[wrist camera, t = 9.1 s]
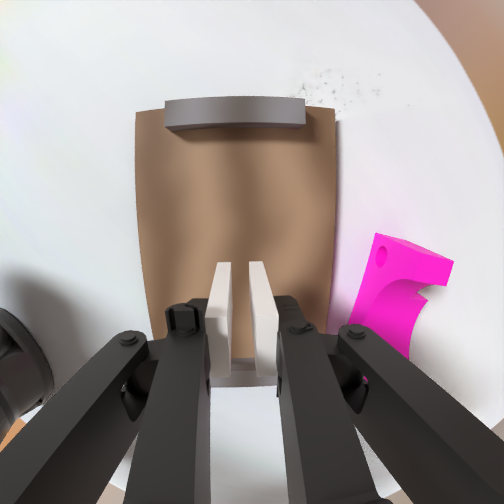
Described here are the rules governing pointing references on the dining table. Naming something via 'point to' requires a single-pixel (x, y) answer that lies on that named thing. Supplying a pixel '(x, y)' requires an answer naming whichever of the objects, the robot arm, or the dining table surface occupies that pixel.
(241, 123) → the wooden serving tray
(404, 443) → the robot arm
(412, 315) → the toy block
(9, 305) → the dining table surface
